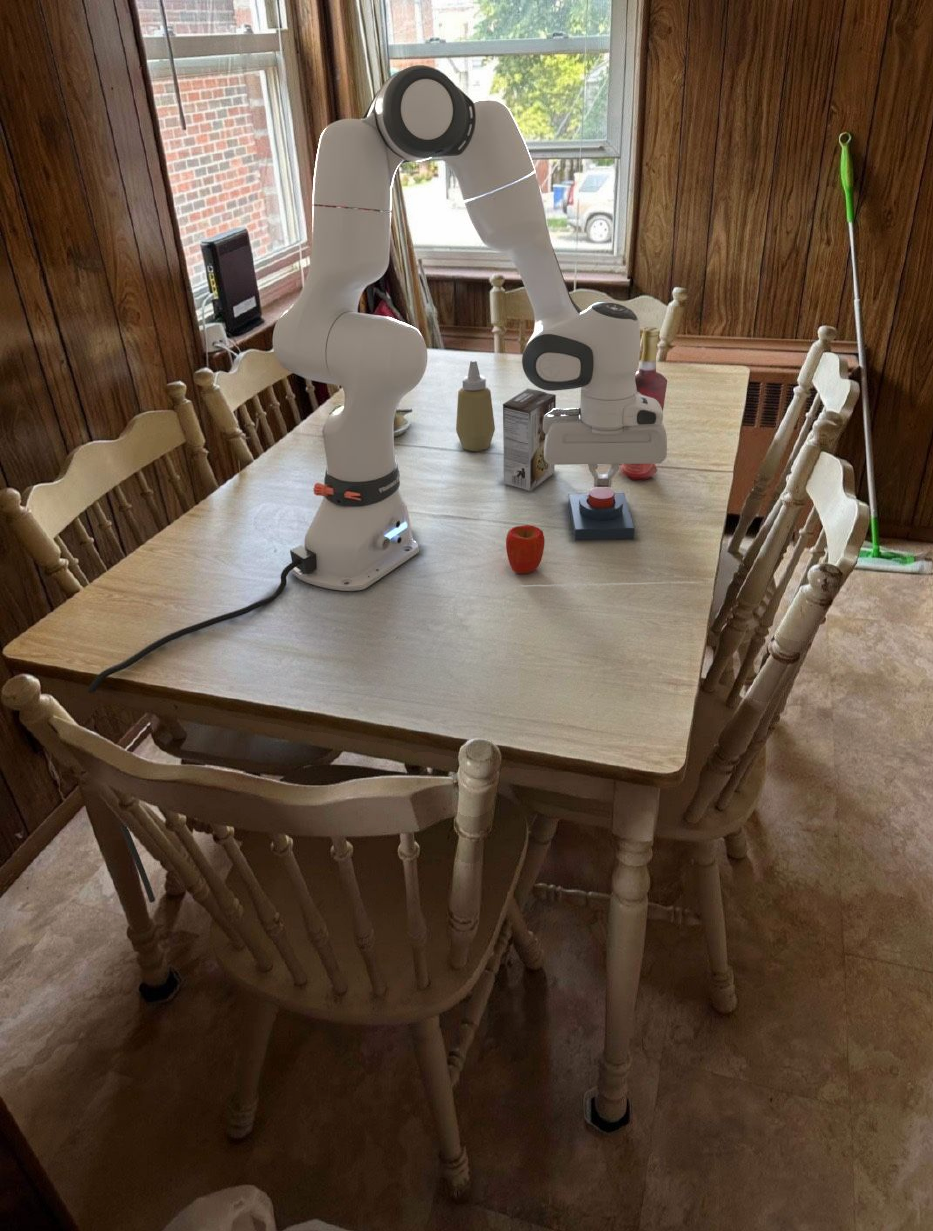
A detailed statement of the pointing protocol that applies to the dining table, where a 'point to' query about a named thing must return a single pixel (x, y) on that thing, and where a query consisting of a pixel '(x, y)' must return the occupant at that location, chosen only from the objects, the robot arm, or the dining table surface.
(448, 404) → the dining table surface
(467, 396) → the squeeze bottle
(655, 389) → the liquor
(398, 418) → the salad plate
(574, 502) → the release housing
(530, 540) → the apple
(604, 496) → the lid button
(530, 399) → the coffee box
